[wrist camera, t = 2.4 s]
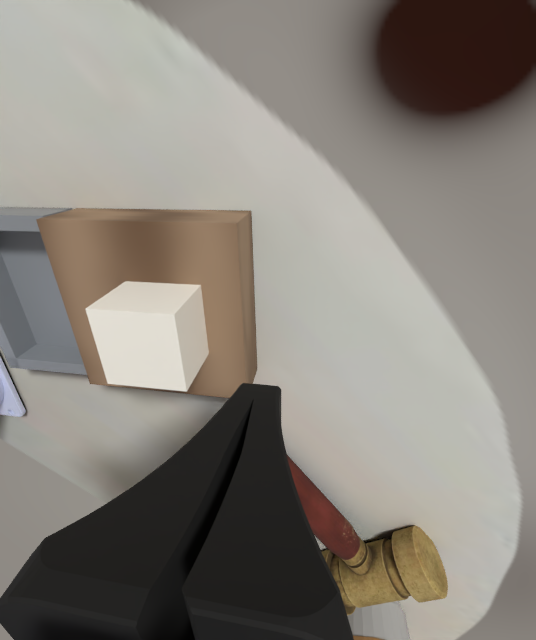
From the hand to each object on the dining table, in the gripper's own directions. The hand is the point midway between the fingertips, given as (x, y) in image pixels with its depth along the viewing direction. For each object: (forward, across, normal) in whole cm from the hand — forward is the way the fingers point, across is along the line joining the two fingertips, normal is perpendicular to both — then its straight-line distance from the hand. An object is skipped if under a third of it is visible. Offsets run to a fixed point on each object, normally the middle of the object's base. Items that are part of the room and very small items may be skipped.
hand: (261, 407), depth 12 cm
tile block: (+6, +6, 0) cm, 8 cm away
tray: (+9, +16, 0) cm, 18 cm away
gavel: (+10, -2, +17) cm, 19 cm away
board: (+9, +7, 0) cm, 11 cm away
